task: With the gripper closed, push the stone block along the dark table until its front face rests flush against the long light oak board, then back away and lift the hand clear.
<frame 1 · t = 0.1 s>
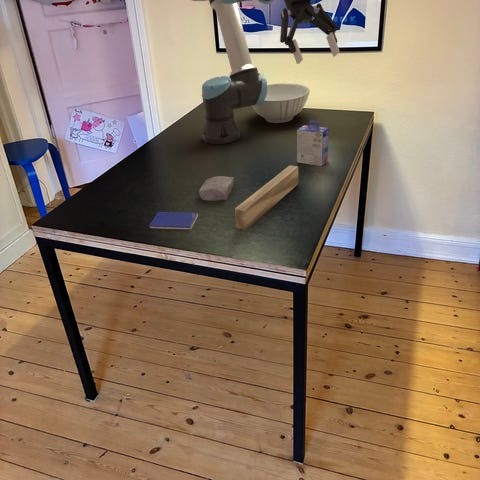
hand: (318, 58, 146), 36 cm above the table, tool tilted 35°, fingers open, 13 cm apart
ink cartridge box: (312, 162, 169), on the table
hard drive: (174, 223, 140), on the table
decorative bowl: (279, 119, 213), on the table, touching arm
oak board: (269, 204, 144), on the table
stone block: (216, 193, 154), on the table
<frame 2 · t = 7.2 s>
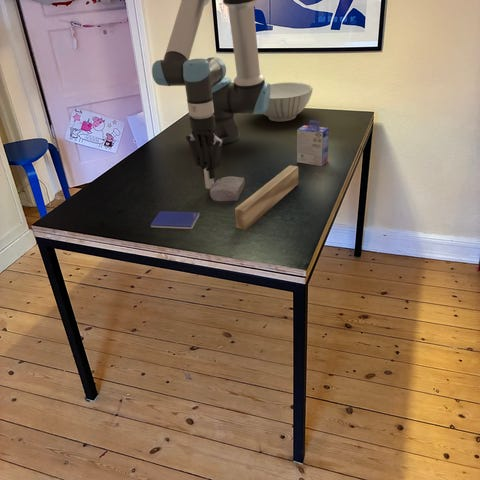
hand: (210, 186, 154), 2 cm above the table, tool pointing down, fingers closed
decorative bowl: (282, 117, 213), on the table
stone block: (227, 193, 153), on the table, touching gripper
everything else where it was.
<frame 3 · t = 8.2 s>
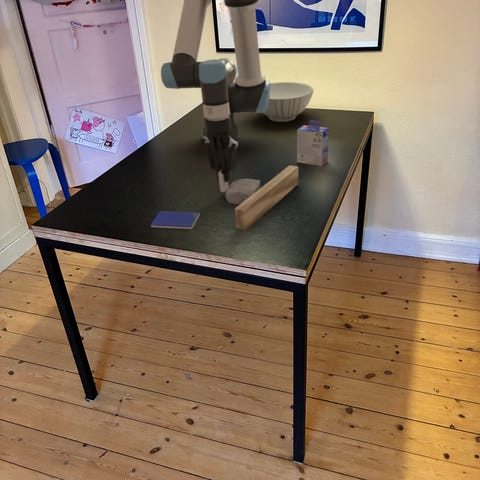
hand: (224, 190, 151), 2 cm above the table, tool pointing down, fingers closed
stone block: (242, 196, 151), on the table, touching gripper
everything else where it was.
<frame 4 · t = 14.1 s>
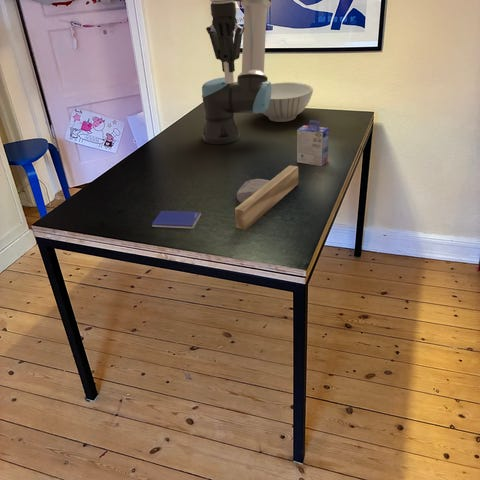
hand: (229, 82, 155), 29 cm above the table, tool pointing down, fingers closed
stone block: (254, 196, 150), on the table
everything else where it was.
at the end: stone block inside the target area on the table beside the oak board (3.4 cm from its centre), on the table; stone block tilted 0° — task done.
